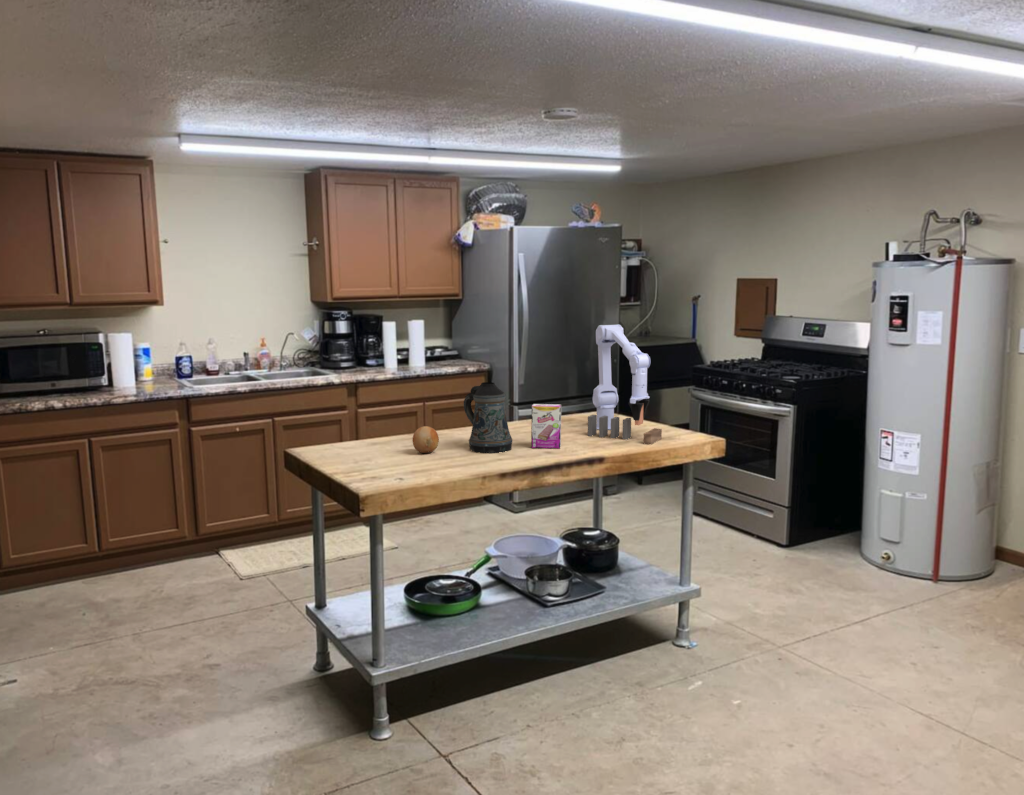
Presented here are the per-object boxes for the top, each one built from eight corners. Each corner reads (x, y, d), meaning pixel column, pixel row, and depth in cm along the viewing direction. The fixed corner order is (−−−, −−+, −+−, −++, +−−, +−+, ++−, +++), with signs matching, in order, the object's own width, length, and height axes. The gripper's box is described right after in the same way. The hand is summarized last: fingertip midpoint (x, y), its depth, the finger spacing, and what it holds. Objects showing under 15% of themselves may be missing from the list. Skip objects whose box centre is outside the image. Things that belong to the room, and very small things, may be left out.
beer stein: (508, 454, 294) (508, 386, 290) (456, 452, 297) (455, 386, 293) (515, 444, 310) (515, 380, 306) (466, 443, 313) (465, 379, 309)
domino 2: (599, 437, 322) (599, 417, 321) (604, 434, 326) (604, 415, 325) (602, 437, 321) (602, 418, 320) (607, 435, 325) (607, 415, 324)
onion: (419, 457, 290) (419, 430, 289) (408, 452, 299) (407, 425, 297) (443, 453, 295) (443, 427, 294) (431, 448, 304) (431, 422, 302)
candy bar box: (531, 448, 303) (530, 405, 300) (532, 445, 307) (531, 403, 305) (560, 449, 301) (560, 406, 299) (561, 446, 306) (561, 403, 304)
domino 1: (587, 436, 324) (587, 416, 323) (592, 433, 329) (592, 414, 327) (591, 436, 324) (591, 416, 322) (596, 434, 328) (596, 414, 327)
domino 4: (622, 439, 317) (622, 419, 316) (627, 437, 321) (627, 417, 320) (626, 440, 316) (626, 420, 315) (630, 437, 321) (631, 418, 319)
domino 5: (634, 425, 314) (635, 404, 312) (639, 422, 318) (639, 402, 317) (638, 425, 313) (639, 405, 312) (643, 423, 317) (643, 403, 316)
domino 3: (610, 438, 320) (610, 418, 318) (615, 436, 324) (615, 416, 323) (614, 438, 319) (614, 419, 317) (619, 436, 323) (619, 417, 322)
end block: (643, 443, 309) (643, 433, 308) (654, 438, 319) (654, 428, 319) (650, 444, 308) (651, 434, 307) (661, 438, 318) (661, 428, 317)
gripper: (642, 387, 305) (642, 423, 307) (655, 383, 317) (655, 416, 319) (625, 386, 308) (624, 421, 310) (638, 381, 321) (638, 415, 323)
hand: (638, 419), depth 315 cm, fingers closed on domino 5, 5 cm apart
